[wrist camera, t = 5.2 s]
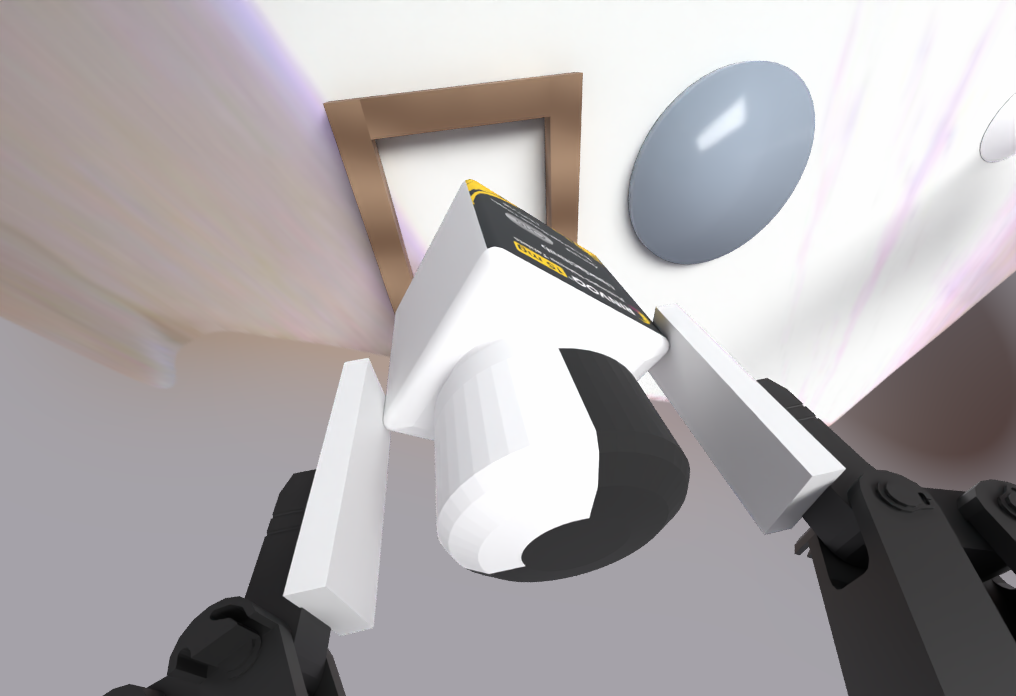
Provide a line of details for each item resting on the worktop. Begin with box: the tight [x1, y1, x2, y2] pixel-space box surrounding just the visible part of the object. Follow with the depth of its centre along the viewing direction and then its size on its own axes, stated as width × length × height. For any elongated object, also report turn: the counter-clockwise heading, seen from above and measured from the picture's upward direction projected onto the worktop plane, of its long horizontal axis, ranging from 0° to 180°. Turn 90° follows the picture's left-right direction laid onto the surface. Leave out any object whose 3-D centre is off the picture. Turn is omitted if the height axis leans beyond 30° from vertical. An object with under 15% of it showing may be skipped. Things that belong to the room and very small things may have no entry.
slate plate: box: [628, 61, 815, 264], centre depth 28 cm, size 14×14×1 cm
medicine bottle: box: [383, 179, 690, 582], centre depth 13 cm, size 7×7×12 cm
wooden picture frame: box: [323, 72, 583, 314], centre depth 26 cm, size 15×15×2 cm
